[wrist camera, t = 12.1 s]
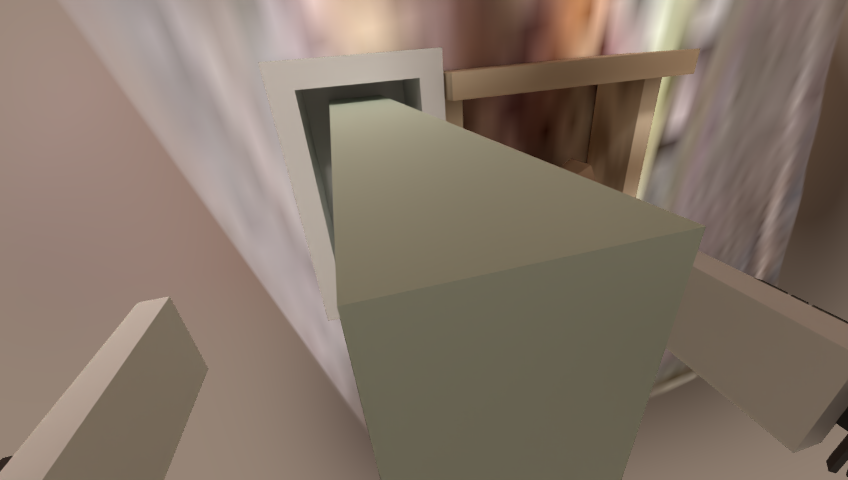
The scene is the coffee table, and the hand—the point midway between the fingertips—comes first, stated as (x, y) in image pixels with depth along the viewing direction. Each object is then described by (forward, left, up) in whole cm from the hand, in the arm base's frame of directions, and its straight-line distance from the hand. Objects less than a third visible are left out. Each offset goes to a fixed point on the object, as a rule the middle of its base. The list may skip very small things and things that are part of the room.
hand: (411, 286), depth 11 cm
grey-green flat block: (0, 0, -13) cm, 13 cm away
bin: (0, 0, -14) cm, 14 cm away
